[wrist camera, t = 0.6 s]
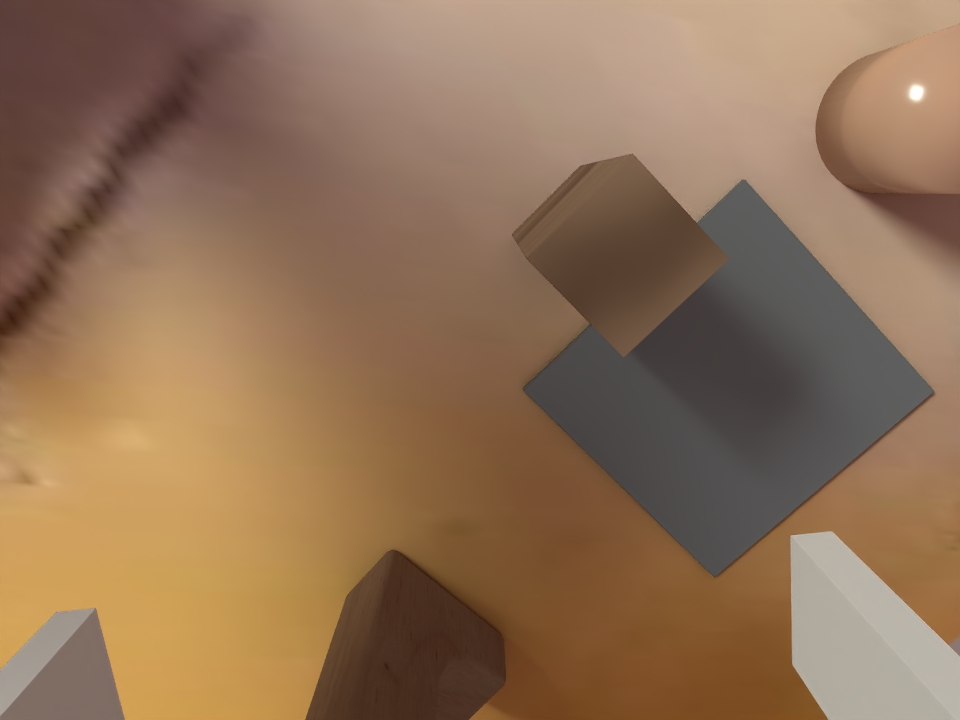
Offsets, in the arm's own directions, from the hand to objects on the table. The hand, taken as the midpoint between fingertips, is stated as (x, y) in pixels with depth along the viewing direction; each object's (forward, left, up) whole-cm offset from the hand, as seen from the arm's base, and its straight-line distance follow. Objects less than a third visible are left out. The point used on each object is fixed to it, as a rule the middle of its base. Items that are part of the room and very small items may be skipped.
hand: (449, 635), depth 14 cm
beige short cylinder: (+7, +23, -28) cm, 37 cm away
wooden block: (+10, -14, -28) cm, 33 cm away
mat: (+12, +8, -28) cm, 31 cm away
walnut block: (0, +8, -28) cm, 29 cm away
